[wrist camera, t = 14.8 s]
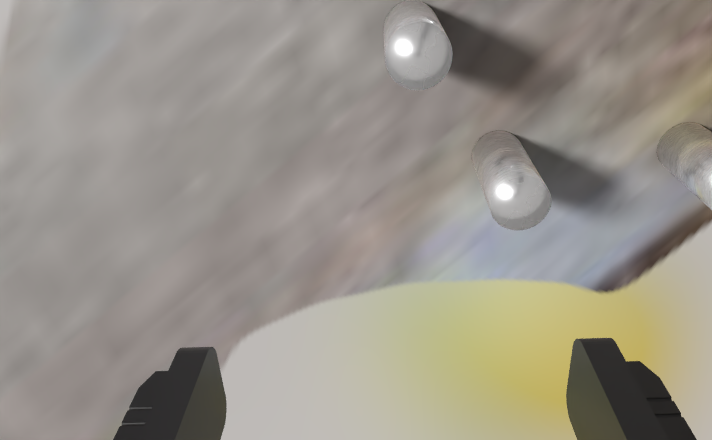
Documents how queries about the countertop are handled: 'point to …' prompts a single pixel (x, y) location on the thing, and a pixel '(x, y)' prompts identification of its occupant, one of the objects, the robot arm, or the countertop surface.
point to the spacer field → (502, 149)
